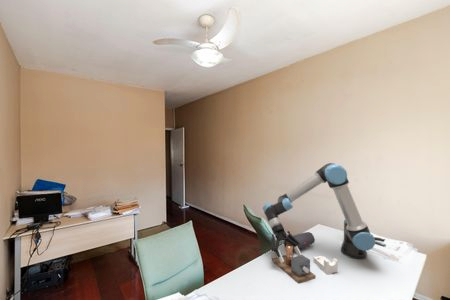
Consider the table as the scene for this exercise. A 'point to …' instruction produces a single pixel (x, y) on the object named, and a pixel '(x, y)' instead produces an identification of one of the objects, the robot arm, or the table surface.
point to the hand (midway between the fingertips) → (291, 260)
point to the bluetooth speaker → (302, 240)
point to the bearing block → (299, 265)
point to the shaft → (290, 254)
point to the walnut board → (287, 269)
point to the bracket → (326, 264)
